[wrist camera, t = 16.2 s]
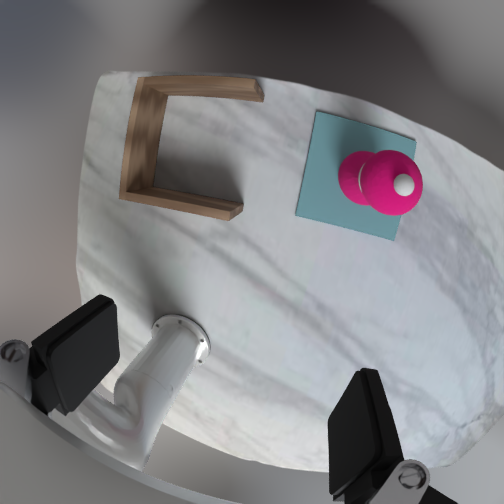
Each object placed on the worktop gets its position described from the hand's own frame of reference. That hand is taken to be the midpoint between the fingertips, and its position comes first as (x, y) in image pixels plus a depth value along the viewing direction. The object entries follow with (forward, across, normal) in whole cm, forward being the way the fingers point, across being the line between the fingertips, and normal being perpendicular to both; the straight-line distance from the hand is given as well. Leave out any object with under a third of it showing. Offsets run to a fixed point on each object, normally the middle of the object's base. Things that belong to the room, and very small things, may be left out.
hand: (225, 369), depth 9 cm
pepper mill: (+33, -10, -10) cm, 35 cm away
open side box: (+33, +14, -9) cm, 37 cm away
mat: (+33, -10, -10) cm, 36 cm away
